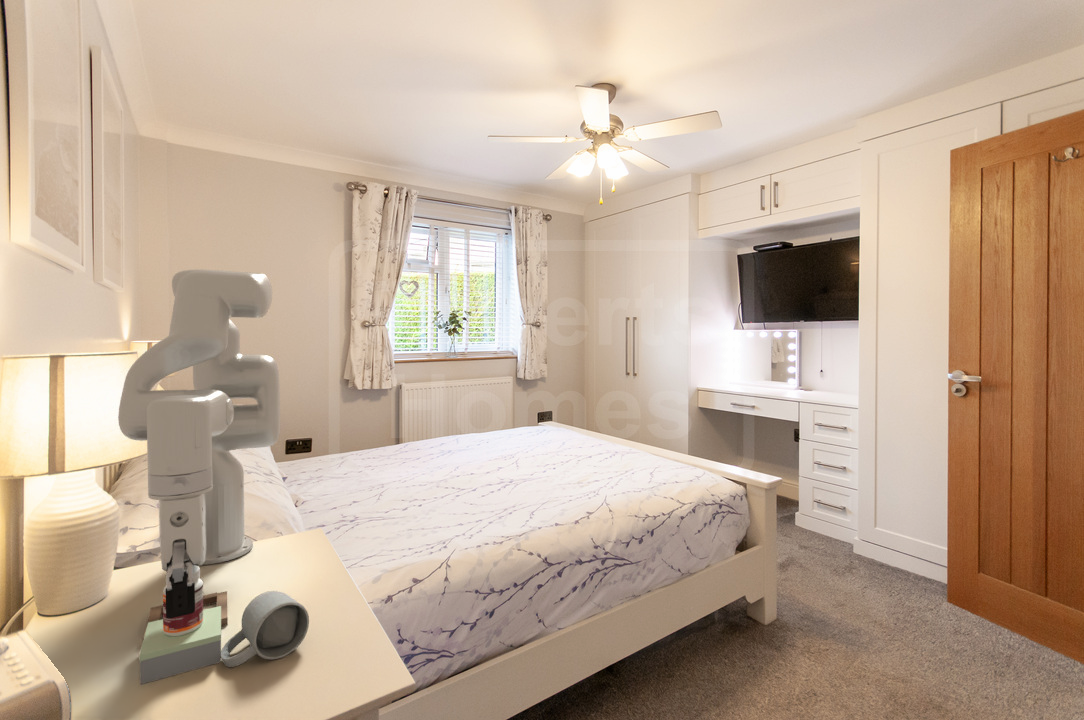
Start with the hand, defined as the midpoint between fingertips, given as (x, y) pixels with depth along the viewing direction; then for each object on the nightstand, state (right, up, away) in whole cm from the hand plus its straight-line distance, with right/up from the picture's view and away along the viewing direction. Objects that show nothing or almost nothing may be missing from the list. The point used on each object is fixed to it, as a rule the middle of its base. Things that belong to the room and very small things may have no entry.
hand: (183, 599), depth 73 cm
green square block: (0, -8, 0) cm, 8 cm away
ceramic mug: (+11, -9, +2) cm, 14 cm away
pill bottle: (0, -4, 0) cm, 4 cm away
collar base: (-6, -8, +10) cm, 14 cm away
